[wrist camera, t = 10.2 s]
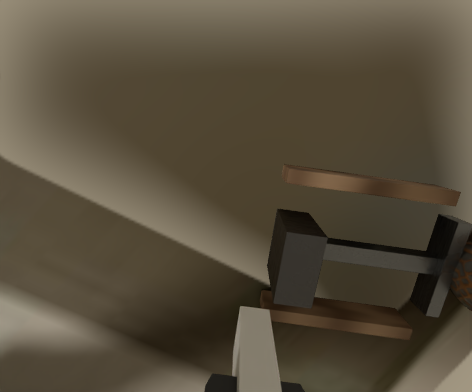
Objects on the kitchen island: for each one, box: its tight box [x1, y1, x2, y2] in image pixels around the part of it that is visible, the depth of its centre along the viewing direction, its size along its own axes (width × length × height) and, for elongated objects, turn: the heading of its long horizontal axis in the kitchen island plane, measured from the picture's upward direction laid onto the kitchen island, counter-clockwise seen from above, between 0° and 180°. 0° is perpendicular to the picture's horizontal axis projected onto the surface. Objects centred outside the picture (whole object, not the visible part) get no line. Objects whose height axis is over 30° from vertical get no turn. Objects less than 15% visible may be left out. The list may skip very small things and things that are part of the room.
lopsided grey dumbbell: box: [267, 209, 472, 317], centre depth 23 cm, size 16×9×6 cm, turn 82°
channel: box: [260, 164, 461, 340], centre depth 24 cm, size 14×14×3 cm
